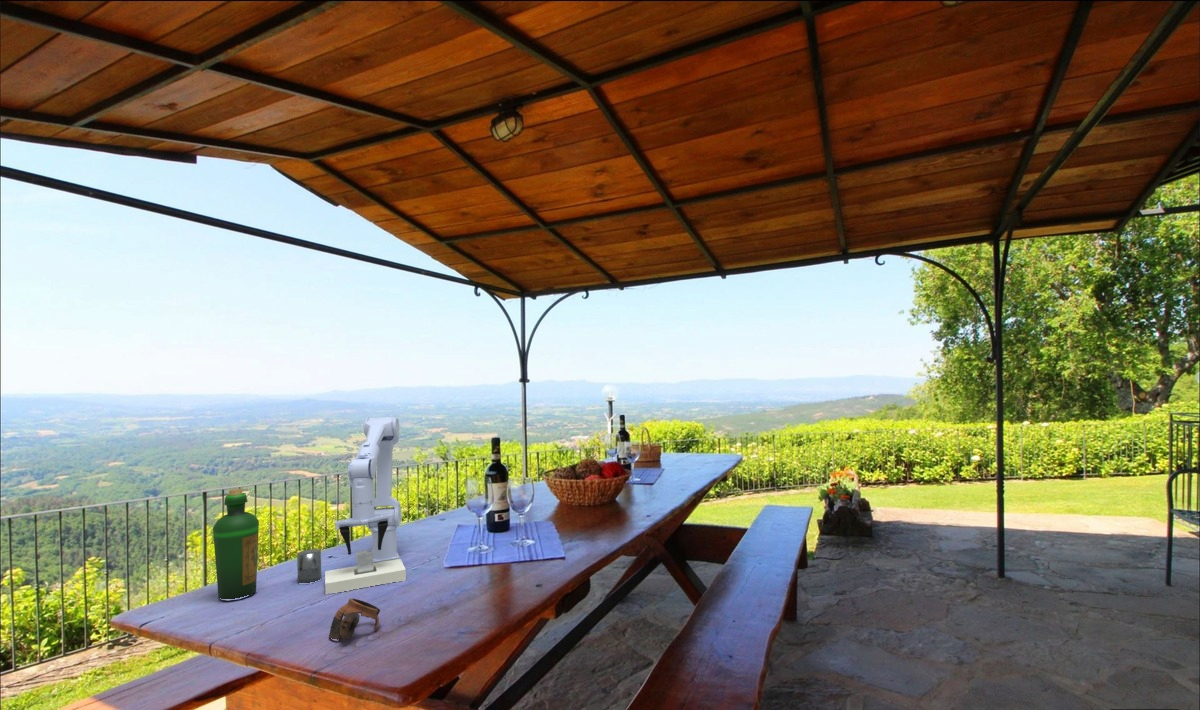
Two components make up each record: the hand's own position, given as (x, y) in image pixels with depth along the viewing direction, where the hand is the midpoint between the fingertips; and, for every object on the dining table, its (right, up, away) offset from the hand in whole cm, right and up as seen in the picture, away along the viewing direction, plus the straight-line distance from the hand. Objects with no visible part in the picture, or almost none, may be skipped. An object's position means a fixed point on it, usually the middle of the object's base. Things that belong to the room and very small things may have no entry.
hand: (364, 551), depth 161 cm
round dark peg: (-16, -9, +2) cm, 19 cm away
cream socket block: (0, -8, 0) cm, 8 cm away
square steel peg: (0, -8, 0) cm, 8 cm away
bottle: (-31, -10, -8) cm, 33 cm away
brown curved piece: (+12, -6, -36) cm, 38 cm away
